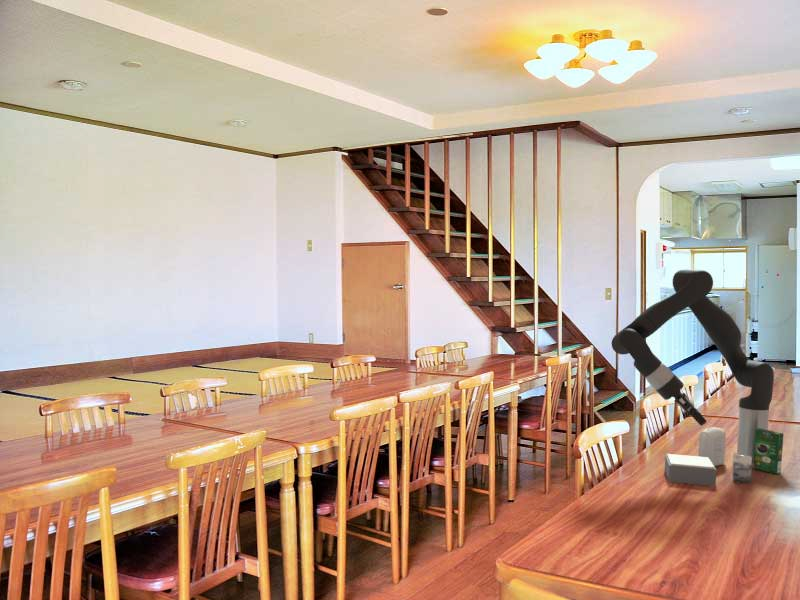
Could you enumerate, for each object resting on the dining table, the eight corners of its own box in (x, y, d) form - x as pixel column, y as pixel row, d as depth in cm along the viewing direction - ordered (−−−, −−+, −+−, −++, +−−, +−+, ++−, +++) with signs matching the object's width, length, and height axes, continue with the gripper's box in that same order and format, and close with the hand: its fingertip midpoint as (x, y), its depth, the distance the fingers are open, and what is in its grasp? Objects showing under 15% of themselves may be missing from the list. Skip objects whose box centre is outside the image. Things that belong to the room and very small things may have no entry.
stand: (664, 470, 222) (665, 453, 222) (708, 474, 219) (709, 456, 218) (668, 481, 210) (669, 463, 209) (715, 486, 206) (716, 467, 206)
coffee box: (782, 473, 221) (784, 432, 221) (777, 475, 220) (779, 433, 219) (757, 467, 228) (759, 427, 227) (752, 468, 226) (754, 428, 226)
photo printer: (714, 461, 235) (715, 424, 234) (726, 464, 231) (728, 427, 231) (696, 465, 229) (697, 428, 228) (708, 468, 225) (709, 430, 225)
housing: (731, 478, 215) (732, 452, 215) (748, 479, 214) (750, 453, 213) (734, 482, 210) (735, 456, 210) (752, 484, 209) (753, 457, 209)
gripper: (675, 376, 209) (715, 417, 207) (671, 370, 223) (708, 408, 220) (656, 392, 211) (695, 433, 208) (652, 385, 225) (689, 424, 222)
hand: (702, 420), depth 214 cm, fingers open, 8 cm apart
